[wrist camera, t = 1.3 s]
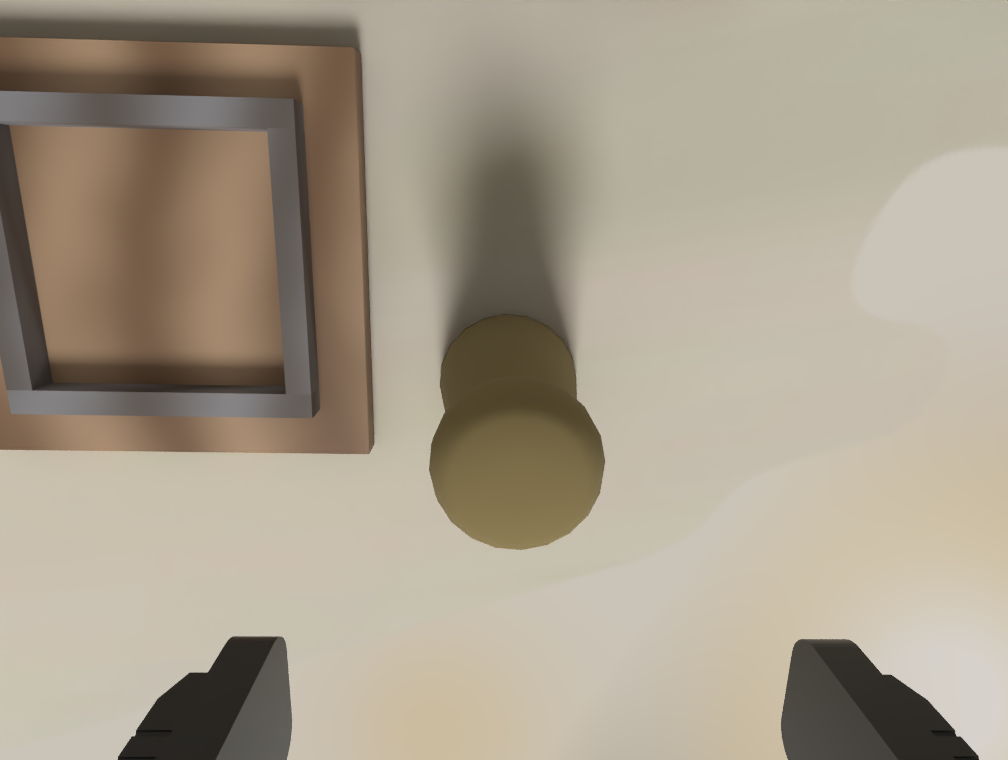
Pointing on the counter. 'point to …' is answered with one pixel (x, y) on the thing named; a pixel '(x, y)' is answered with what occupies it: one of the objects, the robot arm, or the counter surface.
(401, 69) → the counter surface
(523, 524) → the cork
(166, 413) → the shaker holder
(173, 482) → the counter surface
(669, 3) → the counter surface
